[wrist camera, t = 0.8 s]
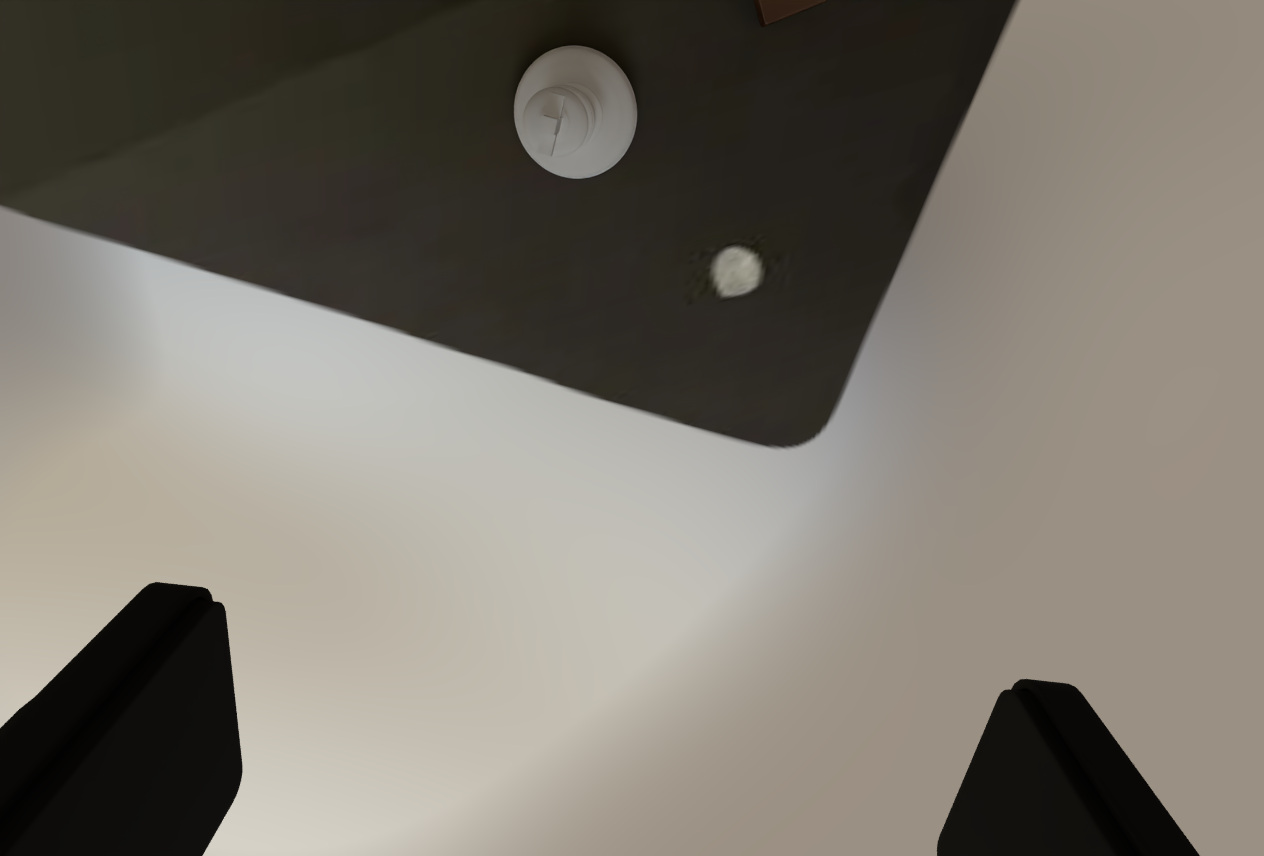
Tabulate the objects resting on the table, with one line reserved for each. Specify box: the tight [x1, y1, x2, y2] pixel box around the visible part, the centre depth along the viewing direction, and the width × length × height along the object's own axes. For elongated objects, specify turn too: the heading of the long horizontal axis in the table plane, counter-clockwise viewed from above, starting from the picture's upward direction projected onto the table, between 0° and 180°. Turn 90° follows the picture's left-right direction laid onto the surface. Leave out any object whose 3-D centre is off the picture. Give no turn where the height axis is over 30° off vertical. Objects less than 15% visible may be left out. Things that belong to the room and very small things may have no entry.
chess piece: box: [514, 46, 637, 179], centre depth 26 cm, size 5×5×10 cm
